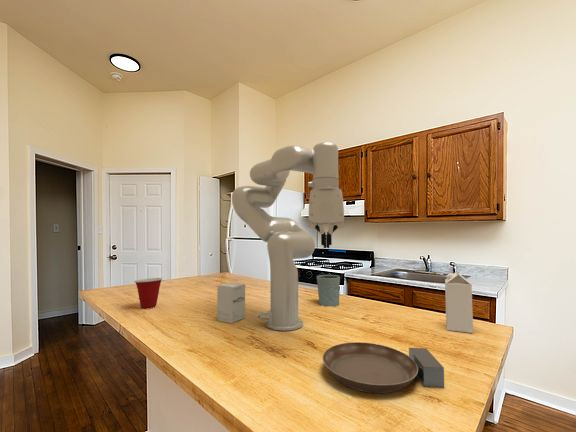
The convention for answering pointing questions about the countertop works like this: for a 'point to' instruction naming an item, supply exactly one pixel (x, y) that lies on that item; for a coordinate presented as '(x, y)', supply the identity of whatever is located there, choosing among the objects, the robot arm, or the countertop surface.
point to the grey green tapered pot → (328, 290)
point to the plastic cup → (148, 291)
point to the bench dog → (427, 367)
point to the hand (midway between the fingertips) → (326, 247)
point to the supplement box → (230, 302)
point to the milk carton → (458, 303)
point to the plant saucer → (370, 367)
